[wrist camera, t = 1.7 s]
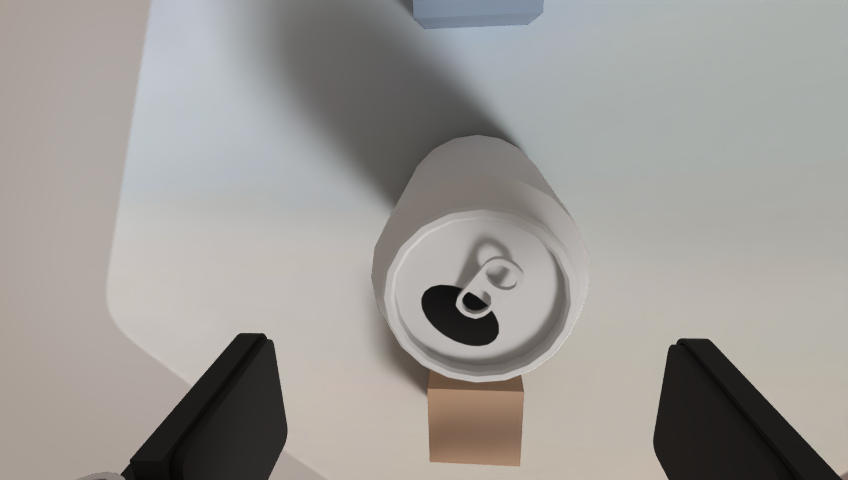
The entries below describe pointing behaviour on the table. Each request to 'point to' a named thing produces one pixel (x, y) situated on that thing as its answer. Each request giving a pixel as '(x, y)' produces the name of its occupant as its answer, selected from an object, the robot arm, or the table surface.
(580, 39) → the table surface
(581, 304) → the can
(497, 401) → the walnut block
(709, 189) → the table surface
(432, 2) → the slate block
